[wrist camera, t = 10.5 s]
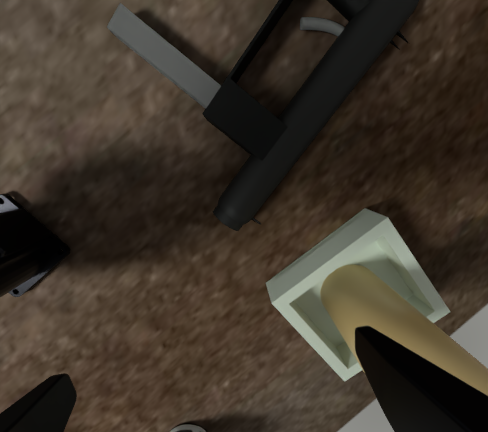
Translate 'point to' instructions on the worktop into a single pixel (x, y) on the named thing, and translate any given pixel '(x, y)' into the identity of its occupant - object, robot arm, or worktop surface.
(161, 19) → the worktop surface
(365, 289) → the tan rounded cylinder
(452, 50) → the worktop surface
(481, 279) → the worktop surface
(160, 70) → the door handle
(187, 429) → the supplement bottle
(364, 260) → the tray
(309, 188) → the worktop surface
